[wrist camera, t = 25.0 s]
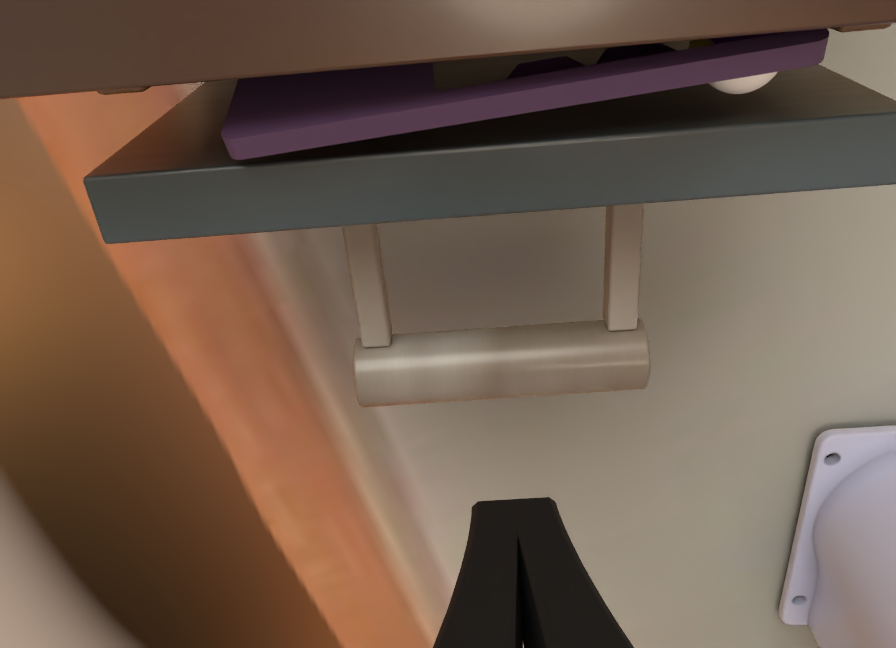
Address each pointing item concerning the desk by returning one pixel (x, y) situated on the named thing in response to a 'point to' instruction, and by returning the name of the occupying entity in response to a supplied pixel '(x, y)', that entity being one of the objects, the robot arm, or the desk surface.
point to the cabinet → (354, 34)
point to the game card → (491, 90)
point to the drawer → (501, 202)
